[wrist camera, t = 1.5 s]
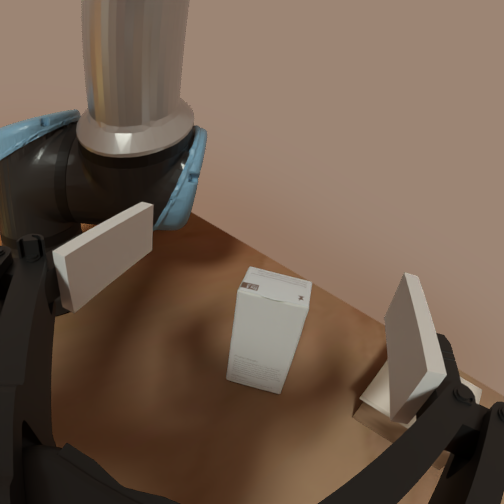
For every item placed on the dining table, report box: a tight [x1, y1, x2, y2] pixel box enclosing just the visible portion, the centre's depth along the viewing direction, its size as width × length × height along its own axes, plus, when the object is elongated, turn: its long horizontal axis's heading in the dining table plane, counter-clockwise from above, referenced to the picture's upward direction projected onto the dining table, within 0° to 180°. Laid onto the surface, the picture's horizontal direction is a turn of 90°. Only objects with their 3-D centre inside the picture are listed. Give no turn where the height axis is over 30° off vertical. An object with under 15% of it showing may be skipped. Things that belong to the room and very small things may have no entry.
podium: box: [353, 359, 482, 470], centre depth 28 cm, size 13×11×4 cm
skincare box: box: [226, 267, 312, 394], centre depth 30 cm, size 6×4×12 cm
